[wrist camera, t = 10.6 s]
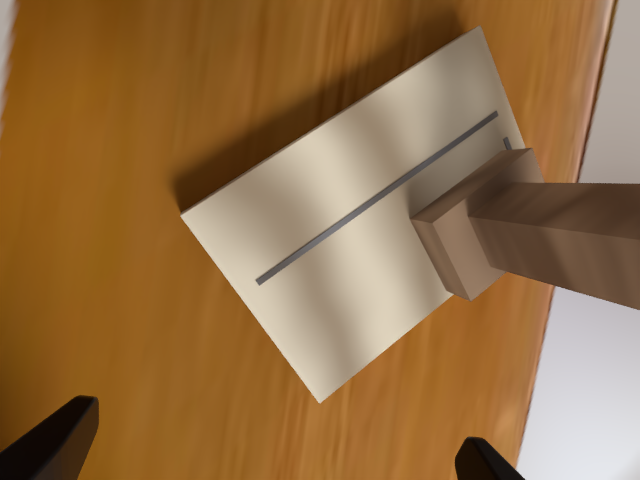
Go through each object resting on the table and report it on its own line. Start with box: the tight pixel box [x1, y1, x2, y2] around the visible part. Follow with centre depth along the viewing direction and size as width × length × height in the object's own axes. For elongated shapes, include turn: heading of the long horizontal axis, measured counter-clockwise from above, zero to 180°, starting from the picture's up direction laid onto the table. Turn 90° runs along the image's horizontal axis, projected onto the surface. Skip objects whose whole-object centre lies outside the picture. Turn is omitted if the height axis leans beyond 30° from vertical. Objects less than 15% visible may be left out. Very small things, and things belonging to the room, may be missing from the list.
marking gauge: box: [410, 148, 640, 310], centre depth 16 cm, size 7×5×12 cm
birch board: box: [180, 25, 525, 404], centre depth 20 cm, size 18×12×2 cm, turn 122°
